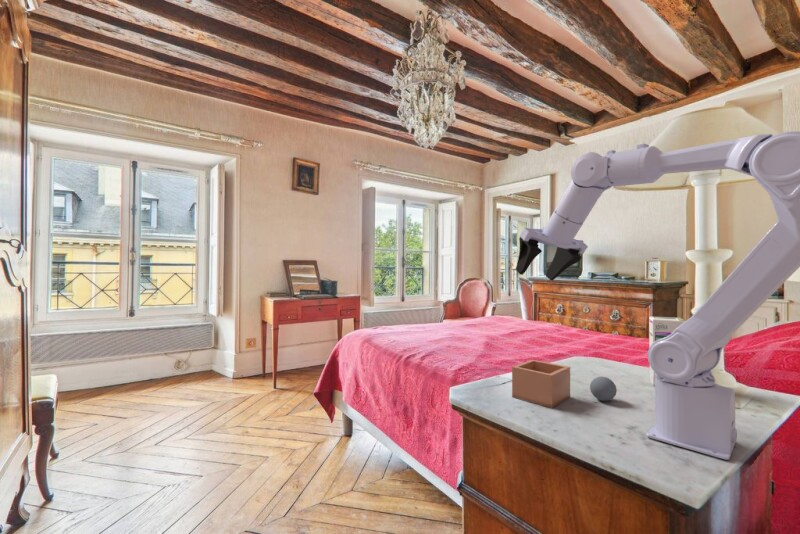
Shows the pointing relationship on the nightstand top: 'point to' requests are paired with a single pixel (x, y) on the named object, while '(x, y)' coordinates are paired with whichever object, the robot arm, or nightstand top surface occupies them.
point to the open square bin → (541, 383)
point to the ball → (603, 388)
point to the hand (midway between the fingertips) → (534, 274)
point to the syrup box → (661, 332)
